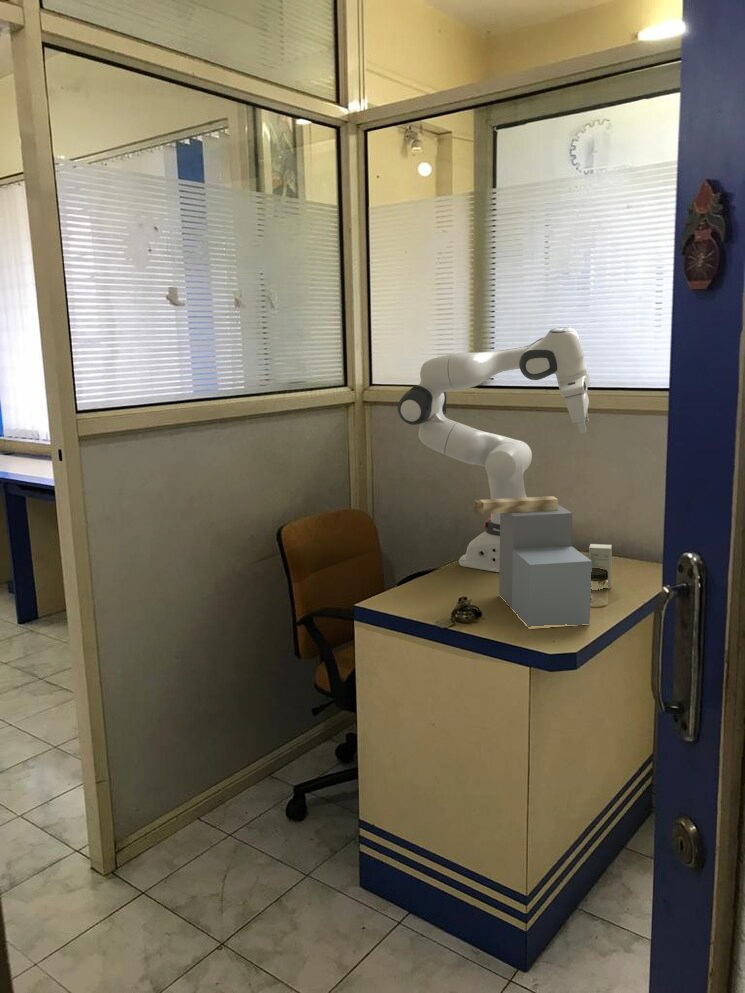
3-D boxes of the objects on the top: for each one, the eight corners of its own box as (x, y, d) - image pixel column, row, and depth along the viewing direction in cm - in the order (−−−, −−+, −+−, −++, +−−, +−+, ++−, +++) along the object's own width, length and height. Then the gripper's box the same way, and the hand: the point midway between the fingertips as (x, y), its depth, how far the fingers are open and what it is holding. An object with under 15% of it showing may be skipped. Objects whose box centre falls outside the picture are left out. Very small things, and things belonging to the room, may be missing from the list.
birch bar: (477, 514, 217) (477, 503, 216) (473, 511, 221) (473, 499, 220) (557, 510, 220) (558, 499, 219) (552, 506, 224) (552, 495, 223)
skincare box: (611, 585, 239) (613, 544, 236) (610, 589, 235) (612, 548, 232) (588, 583, 241) (590, 542, 238) (587, 587, 237) (588, 546, 234)
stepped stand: (528, 629, 206) (530, 529, 201) (499, 595, 231) (500, 506, 226) (589, 625, 208) (593, 526, 203) (553, 592, 233) (556, 503, 228)
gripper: (566, 377, 246) (576, 420, 250) (559, 393, 228) (571, 440, 232) (587, 372, 244) (597, 416, 248) (582, 388, 226) (593, 435, 230)
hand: (584, 427), depth 240 cm, fingers open, 8 cm apart
